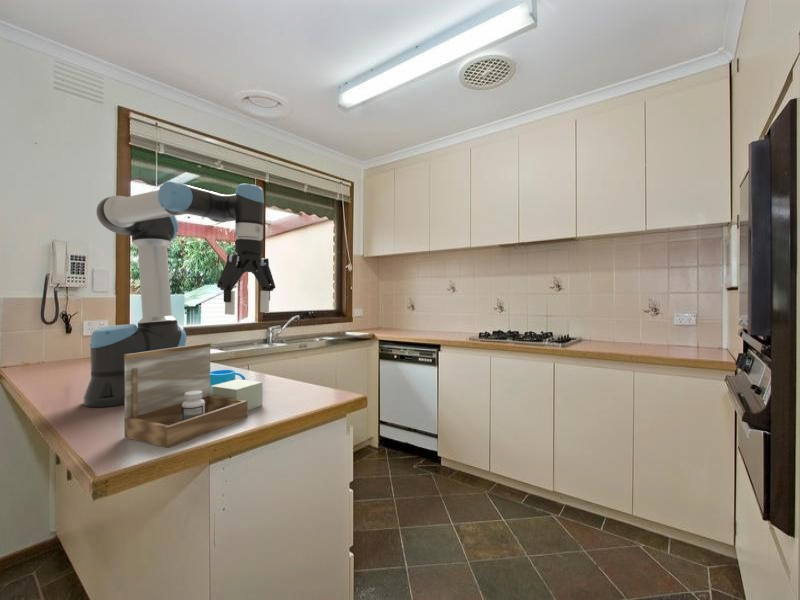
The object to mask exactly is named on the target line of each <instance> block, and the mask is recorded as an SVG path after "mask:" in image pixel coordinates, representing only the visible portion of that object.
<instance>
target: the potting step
mask: <svg viewBox="0 0 800 600" xmlns="http://www.w3.org/2000/svg"><path fill="white" fill-rule="evenodd" d="M211 395H212V396H219V397H225V398H232V399H238V400H245V401H248V411H250V410H253V409H256V408H258V407H261V406H263V381H255V380H249V379H248V380H247V379H245V380H242V378H241V379H239V378H237V379H236V378H235V380H232V381H228V382H224V383H220V384H217V385H213V386H211Z"/></svg>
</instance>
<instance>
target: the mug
mask: <svg viewBox="0 0 800 600" xmlns="http://www.w3.org/2000/svg"><path fill="white" fill-rule="evenodd" d="M236 376H238V377H240V378H241V380H246V377H245V376H244V375H243V374H242V373H240V372H236V370H233V369H218V370H212V371H211V370H210V395H211V386H213V385H217V384H220V383H224V382H228V381H232V380H236Z"/></svg>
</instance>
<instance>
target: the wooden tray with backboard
mask: <svg viewBox="0 0 800 600" xmlns="http://www.w3.org/2000/svg"><path fill="white" fill-rule="evenodd" d="M211 344H212V343H209V342H205V343H198V344H191V345H185V346H182V347H175V348H167V349H160V350H153V351H145V352H138V353H130V354H124V359H125V404H124V438H125V439H131V440H135V441H138V442H143V443H147V444H151V445H156V446H159V447H162V448H163V447H164V448H167V449H169V448H172V447H174V446H176V445H179V444H181V443H185V442H188V441H189V440H192V439H194V438H197V437H200V436H203V435H205V434H208V433H210V432H213V431H215V430H218V429H221V428H224V427H226V426H228V425H231V424H234V423H236V422H238V421H242V420H244V419H246V418H247V419H248V411H249V410H248V401H245V400H238V399H232V398H225V397H219V396H212V395H210V372H211V348H212V345H211ZM189 391H202V398H201V399H203V400H204V401H205V414H202V415H199V416H196V417H193V418H190V419H187V420H184V421H182V403H183V402H184V401H186V400H185V398H184V394H185V393H186V392H189Z"/></svg>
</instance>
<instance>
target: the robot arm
mask: <svg viewBox="0 0 800 600" xmlns="http://www.w3.org/2000/svg"><path fill="white" fill-rule="evenodd" d="M264 197H265V195H264V189H263V188H262V187H260V185H259V186H258V185H255V184H251V183H240V184H238V185H236V187H235V193H234V194H221V193H218V192H214V191H210V190H206V189H202V188H200V187H199V188H198V187H195V186H192V185H188V184H185V183H182V182H177V181H172V180H171V181H170V180H168V181H165V182H163V183H162V185H160V186H159V189H158V190H153V191H148V192H142V193H139V194H135V195H129V196H122V195H112V196H109V197H106V198H103V199H102V200H100V202H99V203H98V204H97V206H96V211H95V212H96V216H97V220H98V221H99V223H100V224H101V225H102V226H103V227H104V228H105V229H107V230H109V231H110V232H112V233H113V232H114V233H115V234H118V235H122V236H123V235H124V236H130V237H131V243H132V244H133V245H134V246H135V247H136V248H137V254H138V256H137V257H138V269H139V270H138V271H139V284H140V285H139V286H140V299H141V300H140V301H141V314H142V315H141V316H142V318H141V319H140V320H139V321H138V322H137V324H134V323H125V324H116V325H109V326H105V327H100V328H97V329H95V330H94V331H93V332H92V333H91V336H90V344H89V347H90V380H89V382H88V385H87V387H86V390H85V393H84V395H83V406H85V407H89V408H105V407H106V408H107V407H115V406H121V405H125V359H124V354H130V353H138V352H145V351H153V350H160V349H167V348H175V347H182V346H187V345H186V344H187V332H186V330H185V328H184V327H183V326H182V325H180V324H178V319H176V317H174V316H173V313H172V298H171V283H170V271H169V268H170V267H169V256H168V248H169V246H171V245H172V241H173V240H175V238H176V237H177V235H178V232H179V223H178V222H179V221H178V219H177V216H181V215H191V216H196V217H202V218H207V219H209V220H211V221H212V222H215V223H227V222H234V221H235V223H234V224H235V228H234V229H235V230H234V231H235V232H234V237H235V238H236V240H235V241H234V252H235V254H227V256H226V263H225V264H224V265H225V266H224V267H223V270H222V273H221V274H220V277H219V279H218V281H217V284H216V287H217V288H218V289H220V290H221V291H223V302H224V315H234V316H235V313H236V311H235V309H236V307H235V305H236V304H235V303H236V302H235V301H236V291H235V290H233V289H234V288H235V287H236V285H237V283H238V282H239V280H240V278H241V277H242V276H243V274H245V273H251V274H253V275H254V277H255V279H256V280H257V282H258V284H259V286H260V287H261V289H262V290H260V295H259V296H260V298H259V299H260V300H259V301H260V302H259V303H260V305H259V307H260V308H259V313H269V312H270V301H271V292H273V291H274V289H276V284H275V281H274V278H273V274H272V272H271V268H270V261H269V258H267V257H266V258H264V257H263V258H261V255H262V254H263V253H264V242H263V239H264V213H265V211H264V210H265V209H264V206H265V199H264Z"/></svg>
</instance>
